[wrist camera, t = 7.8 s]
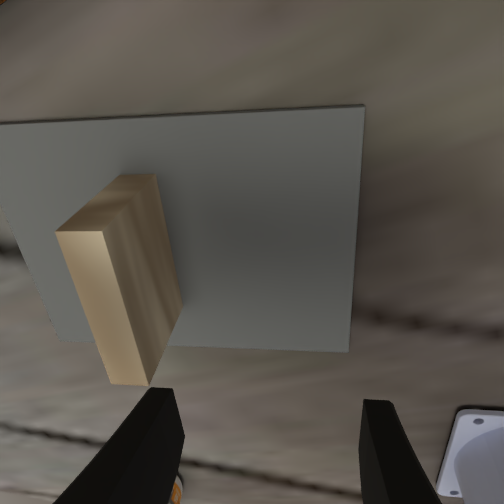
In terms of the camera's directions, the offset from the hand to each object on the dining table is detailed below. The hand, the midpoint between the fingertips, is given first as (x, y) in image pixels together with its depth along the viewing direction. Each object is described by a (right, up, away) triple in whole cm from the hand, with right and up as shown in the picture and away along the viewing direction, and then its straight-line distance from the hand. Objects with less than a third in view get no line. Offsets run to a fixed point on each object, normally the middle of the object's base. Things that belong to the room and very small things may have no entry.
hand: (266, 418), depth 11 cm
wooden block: (-5, +5, +8) cm, 10 cm away
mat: (-4, +5, +8) cm, 10 cm away
